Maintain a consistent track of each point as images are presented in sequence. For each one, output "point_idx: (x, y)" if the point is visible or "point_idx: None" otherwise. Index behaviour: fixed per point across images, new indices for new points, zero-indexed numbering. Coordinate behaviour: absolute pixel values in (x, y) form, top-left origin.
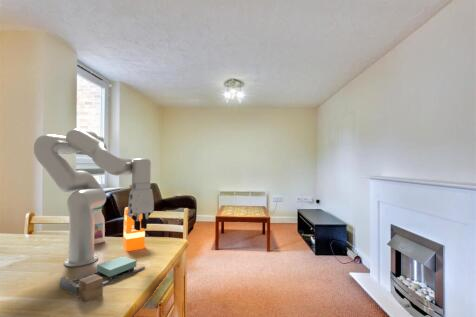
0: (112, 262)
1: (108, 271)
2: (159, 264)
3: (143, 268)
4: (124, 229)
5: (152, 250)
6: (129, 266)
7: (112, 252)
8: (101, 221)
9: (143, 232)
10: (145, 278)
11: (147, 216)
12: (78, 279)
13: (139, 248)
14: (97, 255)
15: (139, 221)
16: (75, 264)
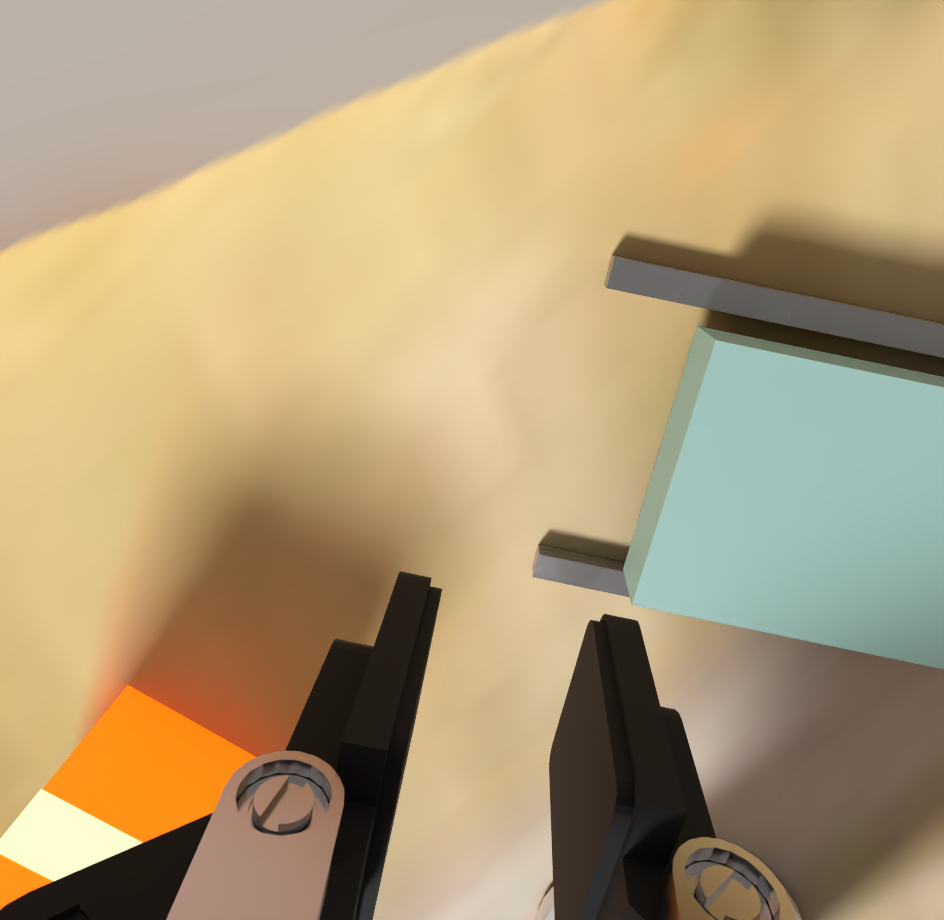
0: (854, 570)
1: None
2: (432, 170)
3: (631, 260)
4: None
5: (131, 559)
6: (802, 351)
7: (384, 865)
8: None
9: (19, 847)
10: (855, 30)
11: (244, 845)
12: None
13: (174, 716)
14: (552, 904)
15: (668, 800)
16: (794, 910)
